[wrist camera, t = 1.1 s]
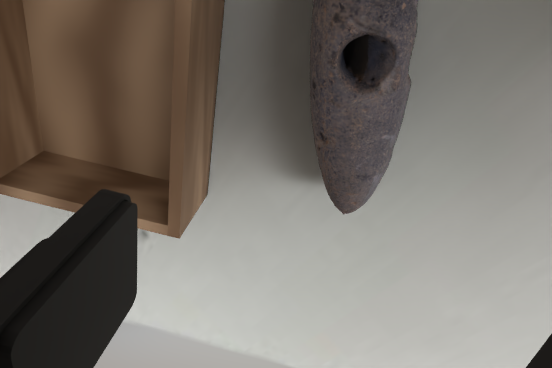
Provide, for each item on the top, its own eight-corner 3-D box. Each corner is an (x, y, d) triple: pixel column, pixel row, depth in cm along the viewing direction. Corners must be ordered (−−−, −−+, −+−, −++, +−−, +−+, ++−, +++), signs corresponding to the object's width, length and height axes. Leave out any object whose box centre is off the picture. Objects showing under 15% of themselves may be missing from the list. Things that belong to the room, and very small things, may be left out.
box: (239, -171, 21) (202, -206, 16) (207, 194, 32) (179, 238, 27) (-14, -214, 22) (-121, -259, 17) (40, 154, 33) (-16, 190, 28)
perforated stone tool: (384, 189, 29) (390, 251, 23) (308, 181, 30) (295, 240, 24) (425, -64, 22) (448, -67, 16) (322, -65, 22) (307, -69, 16)
